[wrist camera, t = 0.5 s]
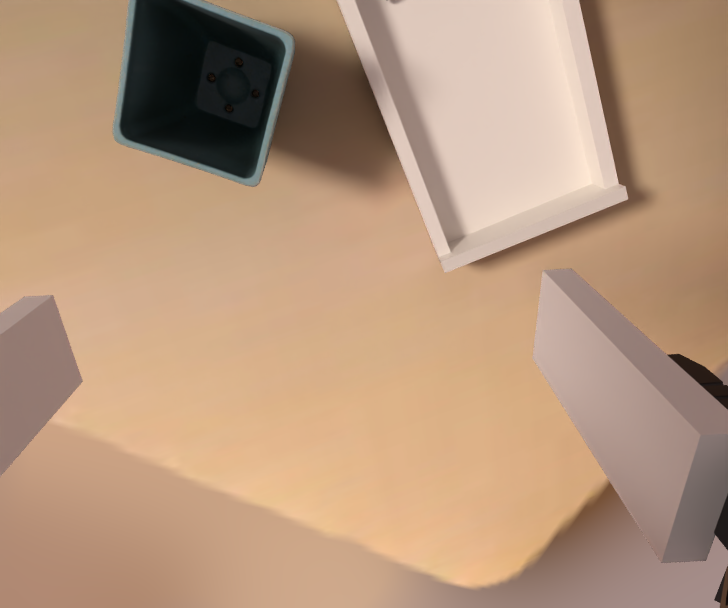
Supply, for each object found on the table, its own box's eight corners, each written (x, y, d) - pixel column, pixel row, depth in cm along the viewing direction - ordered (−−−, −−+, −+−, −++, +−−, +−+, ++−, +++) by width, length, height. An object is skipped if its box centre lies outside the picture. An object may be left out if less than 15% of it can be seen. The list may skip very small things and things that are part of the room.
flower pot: (278, 166, 38) (258, 190, 30) (163, 127, 37) (109, 141, 29) (310, 45, 35) (297, 35, 27) (185, -3, 34) (131, -29, 25)
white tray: (250, -219, 29) (235, -261, 25) (477, -356, 27) (496, -423, 23) (437, 255, 41) (445, 273, 38) (602, 187, 39) (628, 199, 36)
